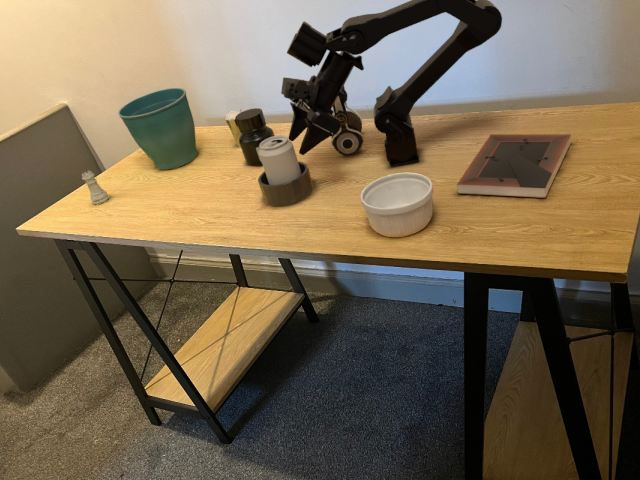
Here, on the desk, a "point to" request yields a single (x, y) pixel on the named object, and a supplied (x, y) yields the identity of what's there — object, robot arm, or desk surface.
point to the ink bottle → (252, 134)
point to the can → (279, 160)
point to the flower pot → (162, 127)
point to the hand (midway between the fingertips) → (295, 147)
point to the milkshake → (233, 125)
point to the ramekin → (398, 203)
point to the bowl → (287, 189)
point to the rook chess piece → (95, 188)
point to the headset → (347, 128)
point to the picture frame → (515, 165)
